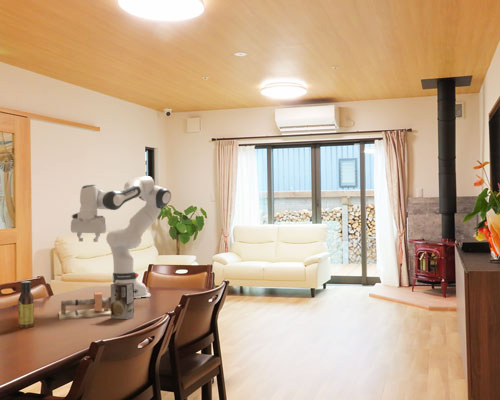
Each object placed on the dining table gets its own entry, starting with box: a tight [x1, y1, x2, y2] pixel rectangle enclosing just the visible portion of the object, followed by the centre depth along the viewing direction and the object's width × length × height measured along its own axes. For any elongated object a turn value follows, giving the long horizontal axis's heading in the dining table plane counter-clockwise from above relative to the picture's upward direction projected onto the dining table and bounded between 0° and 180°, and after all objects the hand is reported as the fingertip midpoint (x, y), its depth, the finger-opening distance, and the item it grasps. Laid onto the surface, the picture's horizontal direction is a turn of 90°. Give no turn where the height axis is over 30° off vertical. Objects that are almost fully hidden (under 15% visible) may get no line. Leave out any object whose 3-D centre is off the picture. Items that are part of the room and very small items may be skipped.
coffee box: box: [110, 283, 135, 320], centre depth 253 cm, size 9×6×16 cm
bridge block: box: [93, 291, 103, 311], centre depth 262 cm, size 3×8×8 cm, turn 21°
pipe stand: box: [58, 297, 111, 320], centre depth 260 cm, size 24×14×7 cm, turn 111°
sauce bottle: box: [17, 280, 35, 329], centre depth 234 cm, size 6×6×20 cm
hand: (88, 241), depth 281 cm, fingers open, 8 cm apart
